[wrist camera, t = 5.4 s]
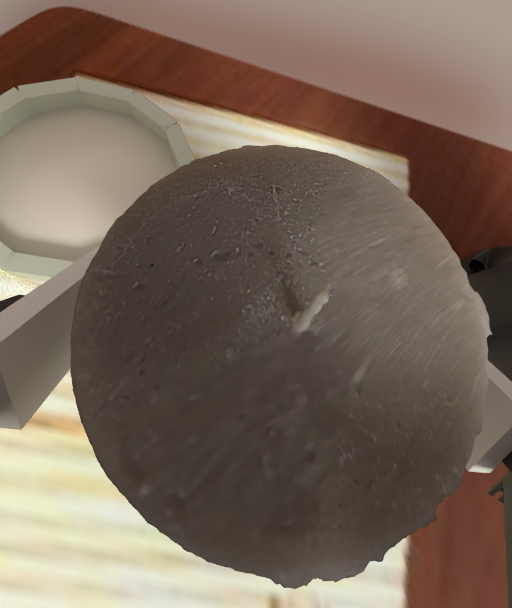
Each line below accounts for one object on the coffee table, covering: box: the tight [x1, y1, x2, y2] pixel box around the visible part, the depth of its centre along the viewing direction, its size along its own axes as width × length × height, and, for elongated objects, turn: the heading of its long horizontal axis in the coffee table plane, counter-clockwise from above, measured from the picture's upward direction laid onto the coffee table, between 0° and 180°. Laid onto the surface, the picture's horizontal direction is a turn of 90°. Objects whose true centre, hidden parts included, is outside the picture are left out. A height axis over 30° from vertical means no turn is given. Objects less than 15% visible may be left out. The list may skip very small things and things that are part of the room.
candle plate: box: [0, 77, 195, 285], centre depth 20 cm, size 16×16×2 cm
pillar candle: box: [70, 145, 492, 589], centre depth 12 cm, size 10×10×15 cm
